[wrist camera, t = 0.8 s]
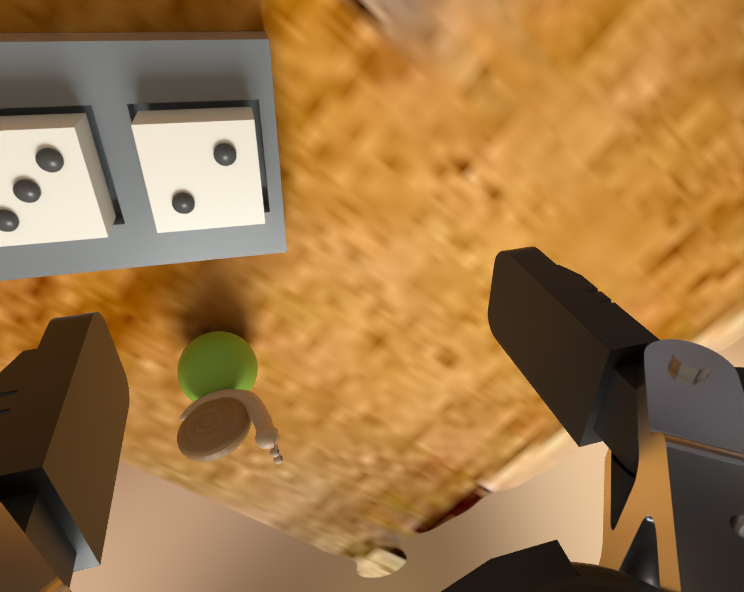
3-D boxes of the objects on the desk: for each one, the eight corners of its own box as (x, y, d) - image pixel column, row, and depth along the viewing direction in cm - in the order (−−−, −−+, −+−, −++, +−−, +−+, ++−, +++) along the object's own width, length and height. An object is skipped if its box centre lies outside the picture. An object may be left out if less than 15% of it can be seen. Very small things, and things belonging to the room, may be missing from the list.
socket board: (-291, 34, 22) (-354, 45, 20) (264, 31, 27) (269, 39, 25) (-140, 268, 29) (-172, 297, 26) (282, 230, 34) (287, 252, 32)
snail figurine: (276, 355, 40) (295, 484, 30) (197, 380, 39) (190, 519, 30) (254, 302, 37) (267, 428, 27) (167, 329, 36) (149, 467, 26)
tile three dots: (-45, 117, 24) (-71, 135, 21) (85, 112, 25) (73, 128, 23) (2, 225, 27) (-17, 250, 25) (116, 216, 28) (107, 239, 26)
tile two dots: (137, 111, 25) (130, 126, 23) (251, 106, 26) (254, 120, 24) (161, 213, 28) (157, 234, 26) (262, 205, 30) (265, 225, 27)
